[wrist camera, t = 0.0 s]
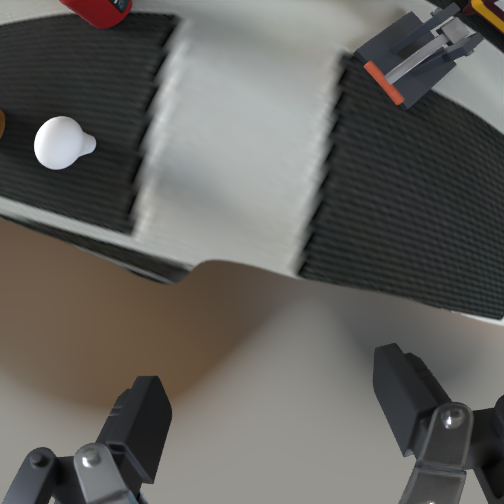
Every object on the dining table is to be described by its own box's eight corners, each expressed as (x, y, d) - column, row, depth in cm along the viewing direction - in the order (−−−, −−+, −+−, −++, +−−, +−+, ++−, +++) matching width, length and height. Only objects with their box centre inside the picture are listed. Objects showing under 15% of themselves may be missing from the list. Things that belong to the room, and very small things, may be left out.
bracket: (403, 110, 34) (463, 93, 21) (353, 53, 32) (395, 10, 19) (451, 66, 32) (509, 44, 18) (407, 14, 30) (454, -25, 16)
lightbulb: (98, 113, 34) (52, 102, 24) (117, 148, 36) (73, 146, 25) (67, 141, 35) (17, 139, 25) (85, 175, 37) (37, 182, 26)
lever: (395, 104, 28) (398, 106, 27) (362, 66, 27) (363, 66, 26) (472, 47, 21) (479, 45, 19) (441, 8, 20) (446, 4, 18)
